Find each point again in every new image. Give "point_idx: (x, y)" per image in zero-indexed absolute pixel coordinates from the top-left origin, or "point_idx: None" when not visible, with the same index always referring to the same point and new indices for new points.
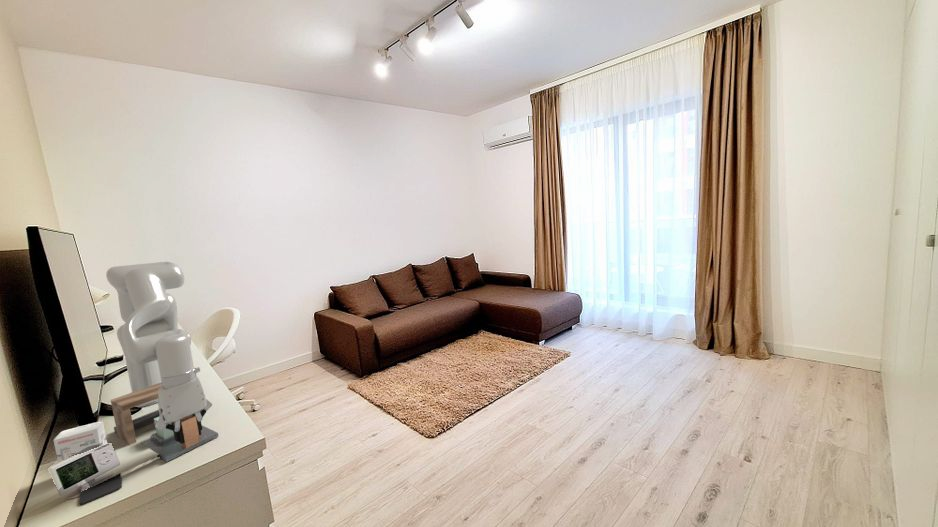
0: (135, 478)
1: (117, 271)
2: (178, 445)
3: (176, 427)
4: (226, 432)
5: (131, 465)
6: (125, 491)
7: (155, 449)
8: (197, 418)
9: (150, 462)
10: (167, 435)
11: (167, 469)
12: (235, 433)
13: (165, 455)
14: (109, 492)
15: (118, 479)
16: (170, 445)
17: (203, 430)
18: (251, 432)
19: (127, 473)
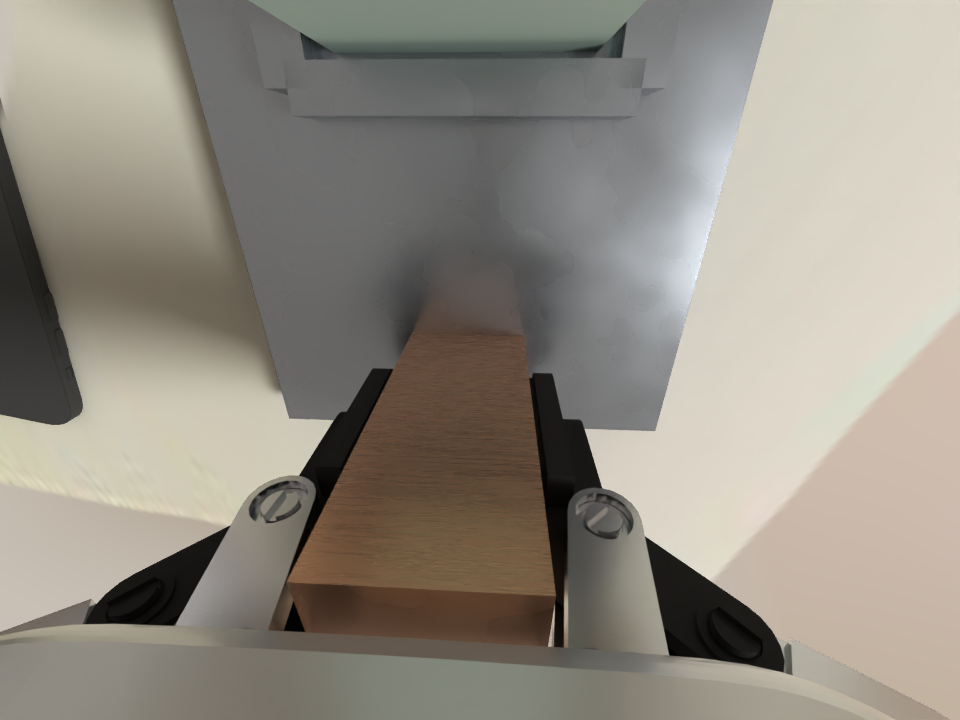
0: (142, 388)
1: None
2: (400, 310)
3: (290, 625)
4: (711, 400)
5: (78, 145)
6: (113, 462)
7: (233, 146)
8: (556, 640)
9: (217, 270)
10: (339, 36)
11: (298, 466)
12: (710, 471)
13: (292, 372)
14: (24, 417)
15: (30, 321)
16: (354, 228)
17: (657, 246)
18: (738, 544)
19: (77, 265)
